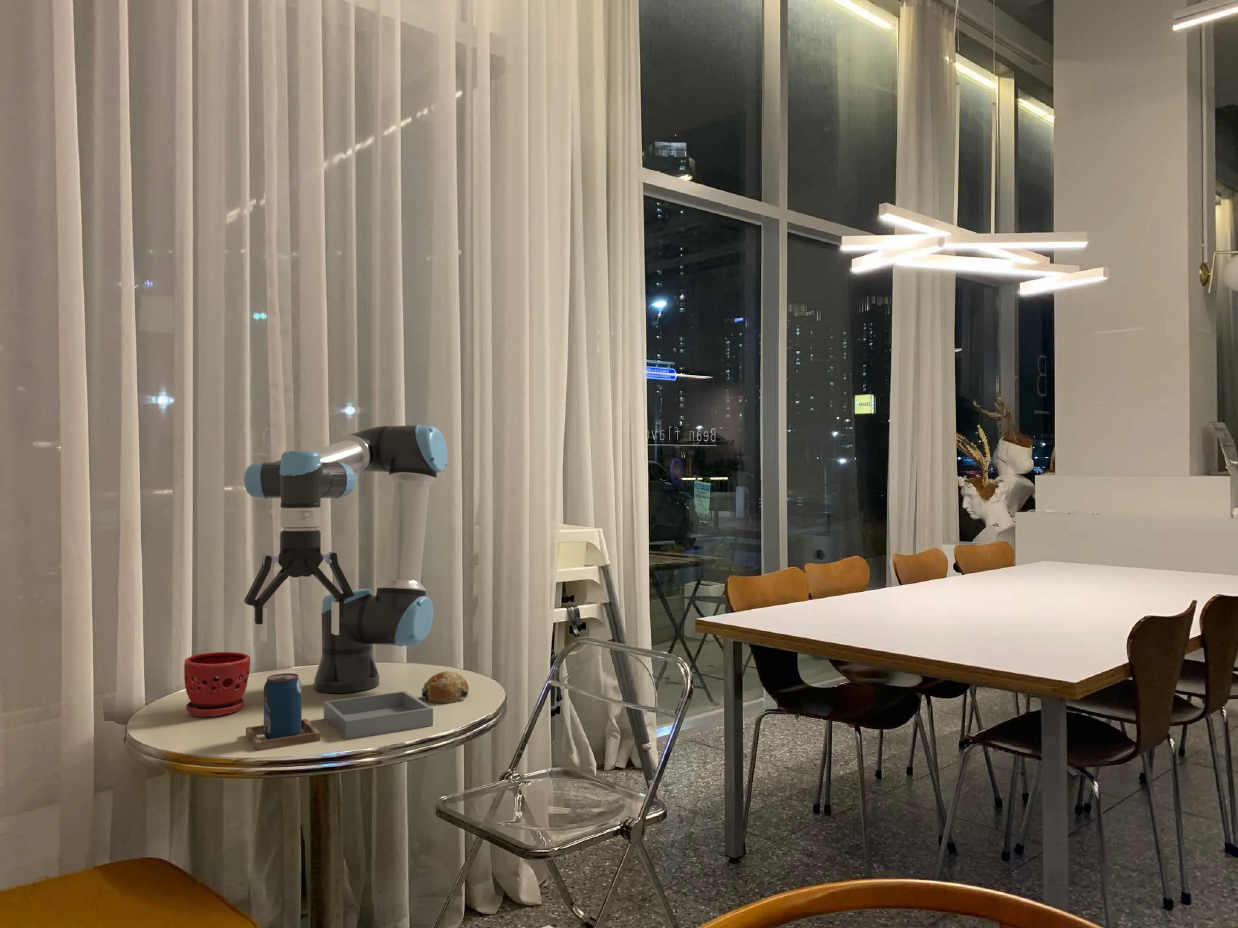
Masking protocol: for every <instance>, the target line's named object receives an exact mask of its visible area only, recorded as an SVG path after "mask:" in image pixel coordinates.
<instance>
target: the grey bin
mask: <svg viewBox="0 0 1238 928" xmlns="http://www.w3.org/2000/svg"><path fill="white" fill-rule="evenodd" d="M323 719H324V720H325V721H326V722H327V723H328V724H329V725H330V726H331V727H332V728H333V729H334V730H335V731H336V732H338V734H340V735H341V736H342V738H344V739H345V740H351V739H356V738H358V739H359V738H362V737H369V736H370V737H371V736H376V735H381V734H387V733H394V732H395V733H396V732H400V731H401V732H402V731H406V730H413V729H418V728H419V729H420V728H425V726H427V727H431V726H432V725H433V726H434V708H433V707H432V706H430V705H428V703H425V702H424V701H423V700H421V699H419V698H417V697H416V696H414V695H413V694H411V693H410V692H408V691H406V690H401V691H393V692H386V693H379V694H370V695H365V696H357V697H356V696H355V697H349V698H342V699H335V700H328V701H323Z"/></svg>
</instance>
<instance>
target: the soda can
mask: <svg viewBox="0 0 1238 928" xmlns="http://www.w3.org/2000/svg"><path fill="white" fill-rule="evenodd" d="M301 720H302V682H301V680H300V678H299V674H297V673H290V672H288V673H278V674H277V673H275V674H272V675H269V676H267V677H266V682H265V683H264V686H263V725H264V734H263V735H264V737H265V739H266V740H269V739H275V738H282V737H288V736H295V735H301V734H300V733H301V732H302V728H301Z"/></svg>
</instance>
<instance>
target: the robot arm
mask: <svg viewBox="0 0 1238 928" xmlns="http://www.w3.org/2000/svg"><path fill="white" fill-rule="evenodd" d="M280 457H281V458H280V459H279V460H275V461H271V462H270V461H269V462H266V461H262V462H255V463H254V462H253V463H251V464H250V465H248V467H247V468H246V469H245V472H244V477H243V482H244V489H245V490H246V492H247V494H248V495H250V496H251V497H253V498H260V499H265V500H266V499H280V507H279V508H280V512H279V513H280V514H279V516H280V517H279V520H280V521H279V527H280V528H281V529H283V530H281V532H279V554H278V556H272V555H267V554H264V555H263V556H262V561H261V567H260V569H259V571H258V573H257V575H256V577H255V579H254V580H253V582H252V584H251V586H250V588H249V589H248V592H247V594H246V595H245V597H244V599H243V600H244V601H243V602H244V603H245V604H246V605H248V606H250V607H253V608H254V623H255V624H256V625H259V629H260V630H259V641H260V642H262V643H268V607H266V603H267V602H268V601H269V599H271V597H272V596H273V595H275V592H276V591H277V590H278V588H280V586H281V585H282V584H283V583H284V582H285V581H286V580H287V579H288V578H289V577H291V578H300V577H306V578H307V577H311V576H314V577H315V578H316V579H317V580H318V582H320V584H321V585H322V586H323V587H324V588H325V589H326V590H327V591H328V592H329V593H330V594H328V595H326V596H324V598H323V599H322V601H321V603H322V605H321V612H320V616H321V658H320V662H319V664H318V667H317V671H316V673H315V675H314V682H313V683H314V684H313V689H314V690H315V691H317V692H320V693H326V694H346V693H347V694H349V693H357V692H363V691H368V690H370V689H371V690H372V689H375V688H377V687H378V686H379V685H380V673H379V671H378V668H377V664H376V661H375V659H374V656H373V655H374V654H373V646H372V645H377V646H378V645H379V646H381V645H382V646H397V647H407V646H409V647H410V646H417V645H419V644H421V643H423V641H425V639H426V637H427V636H428V634H429V633H430V632H431V631H430V630H431V628H432V625H433V621H434V616H435V614H434V613H435V611H434V607H433V606H434V604H433V601H432V600H431V598H429V597H428V596H426V595H427V589H426V588H425V587H424V585H422V583H421V580H422V569H423V560H424V559H423V557H424V549H425V540H426V539H425V537H426V528H427V527H426V526H427V517H428V507H429V505H428V503H429V495H430V494H429V493H430V487H431V486H432V485H433V484H434V483H435V482H437V478H438V477H437V476H438V475H437V474H438V473H441V472H443V471H444V470H445V469H446V466H447V464H448V448H447V443H446V440H445V437H444V436H443V434H442V432H441V431H440V430H439V429H438V428H437V427H435V426H433V425H422V424H415V425H411V424H410V425H379V426H375V427H370V428H366V429H363V430H360V431H356V432H354V433H351V434H348V435H344V436H343V437H341V438H339V440H337V442H336V443H333V444H328V445H325V446H322V447H319V448H316V449H312V450H288V451H287V450H286V451H284V452H283V453H281V456H280ZM362 472H378V473H379V472H380V473H381V472H382V473H384V472H385V473H388V478H389V479H390V481H392V483H393V493H392V502H391V511H390V521H389V531H388V532H389V533H388V540H387V549H386V550H387V552H386V559H385V561H386V562H385V570H384V571H385V572H384V579H383V581H382V582H381V583H380V584H379V585H377V588H376V594H375V595H373V591H372V589H371V588H359V589H352V587H351V586H350V584H349V582H348V580H347V577H346V576H345V574H344V572H343V570H342V568H341V566H340V565H339V561H338V554H337V553H336V552H333V551H329V552H328V553H322V550H321V548H322V547H321V546H322V544H321V543H322V542H321V541H322V540H321V537H322V536H321V533H322V532H321V531H320V530H319V529H318V528H320V527H321V526H322V525H321V523H322V522H321V521H322V520H321V507H322V506H321V505H322V503H321V501H322V499H340V498H344V497H346V496H348V495H350V494H351V493H352V492H353V490H354V489H355V486H356V480H357V479H356V474H360V473H362ZM323 561H324V562H325V563H326V564H328V565H329V568H330V570H331V572H332V574H333V575H334V577H335V579H336V581H337V583H338V585H339V588H340V589H341V591H340V590H339V589H338V588H337V587H336V586H335V585H334V584H333V582H332V581H331V580H330V579H329V578H328V577H327V576H326V575H325V573H324V572H323V571H322V570H321V569H320V565H321V563H322V562H323ZM277 563H278V564H279V566H280V567H281V569H280V570H279V571H278V573H277V574H276V575H275V577H274V578H273V579H272V580H271V582H270V583H269V584H268V585H267V586H266V587H265V589H264V590H263V591H262V592H261V594H260V595H259V593H260V590H261V588H262V586H263V585H264V583H265V581H266V579H267V576H269V572H270V571H271V568H273V567H274V566H275V565H276V564H277Z"/></svg>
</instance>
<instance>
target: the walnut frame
mask: <svg viewBox="0 0 1238 928" xmlns="http://www.w3.org/2000/svg"><path fill="white" fill-rule="evenodd" d="M301 729H303V730H305V731H306V733H303V734H299V735H295V736H288V737H282V738H275V739H269V740H267V739H264V740H260V738H259V737H258V735H264V724H260V725H255V726H248V727H245V736H246V738H247V739H248V741H249V742H250V744H251V745H252V746H253V748H254V750H255V751H262V750H269V749H276V748H282V747H288V746H295V745H300V744H306V743H312V742H313V743H314V742H319V741H321V732H320V731H319V730H318V729H317V728H316V727H315V725H313V724H312V722H310V721H309V719H307V718H305V719H304V718H303V719H302V718H301ZM257 734H258V735H257Z"/></svg>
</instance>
